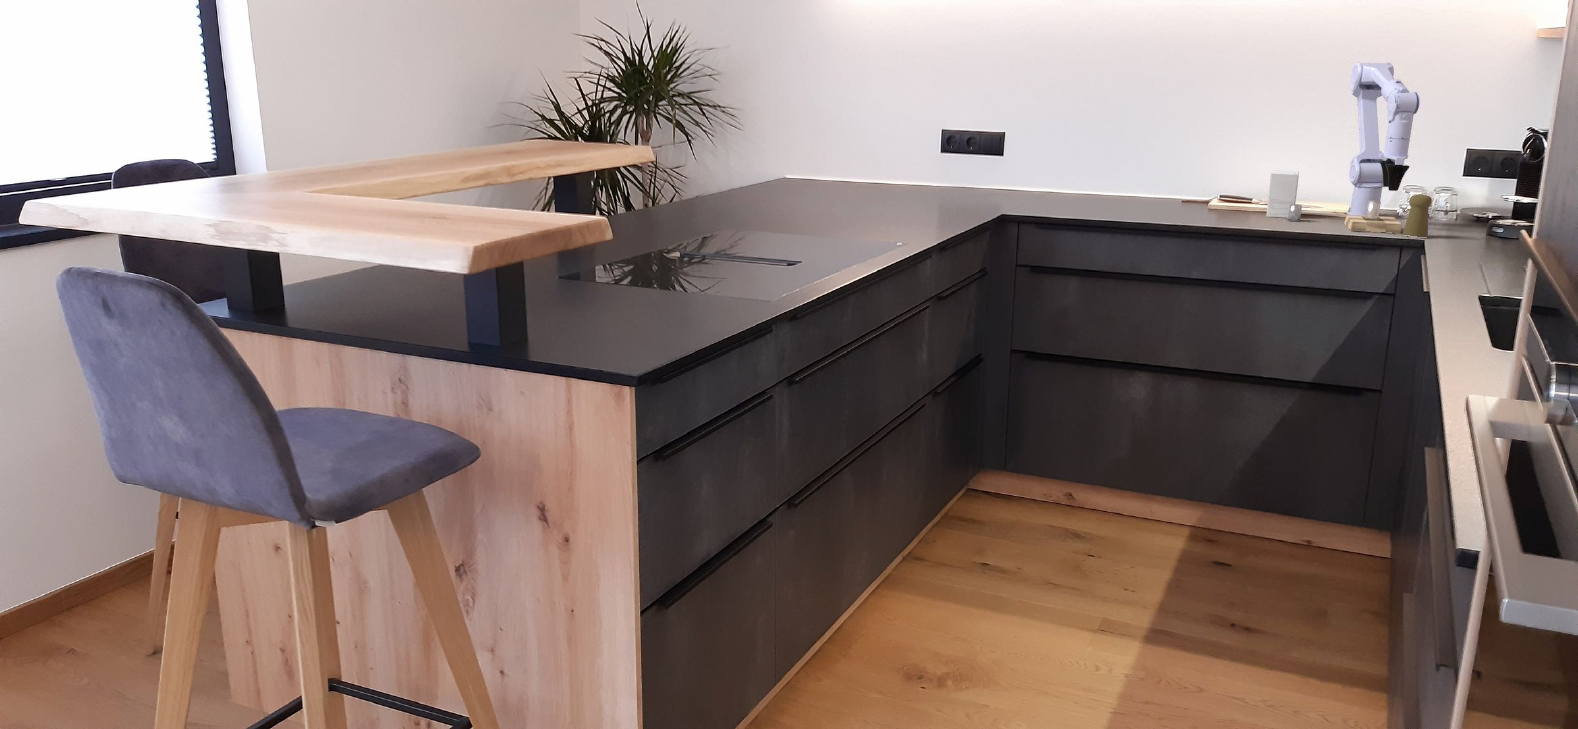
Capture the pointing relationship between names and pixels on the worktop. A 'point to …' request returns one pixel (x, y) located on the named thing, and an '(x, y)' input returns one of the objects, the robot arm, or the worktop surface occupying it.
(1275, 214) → the supplement box
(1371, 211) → the long pin
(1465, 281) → the worktop surface
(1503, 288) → the worktop surface
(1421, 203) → the cork
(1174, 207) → the worktop surface
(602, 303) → the worktop surface
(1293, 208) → the short pin
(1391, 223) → the oak frame
